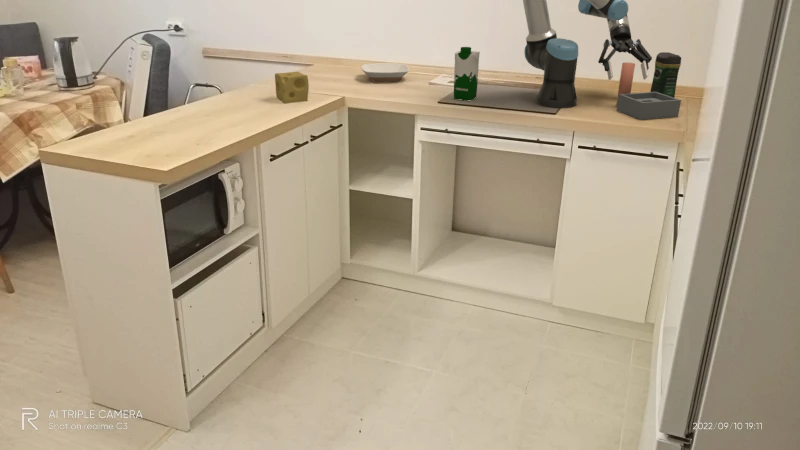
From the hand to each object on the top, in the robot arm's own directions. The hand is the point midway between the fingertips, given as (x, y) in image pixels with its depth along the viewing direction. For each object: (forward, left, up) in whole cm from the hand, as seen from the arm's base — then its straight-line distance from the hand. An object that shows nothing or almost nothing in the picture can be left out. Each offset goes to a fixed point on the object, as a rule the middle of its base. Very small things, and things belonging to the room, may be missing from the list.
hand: (628, 77), depth 241 cm
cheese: (-122, +43, -10) cm, 129 cm away
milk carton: (-56, +26, -10) cm, 62 cm away
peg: (-3, -2, -10) cm, 11 cm away
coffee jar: (+17, +1, -10) cm, 20 cm away
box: (-1, -14, -10) cm, 18 cm away
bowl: (-76, +71, -11) cm, 104 cm away
